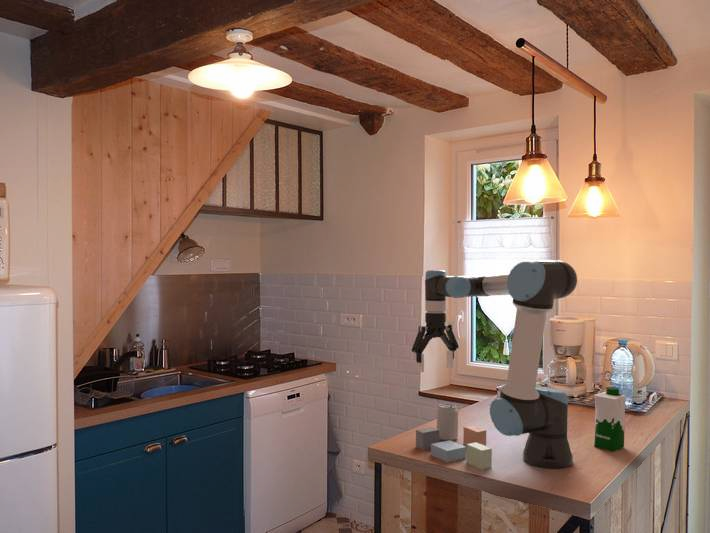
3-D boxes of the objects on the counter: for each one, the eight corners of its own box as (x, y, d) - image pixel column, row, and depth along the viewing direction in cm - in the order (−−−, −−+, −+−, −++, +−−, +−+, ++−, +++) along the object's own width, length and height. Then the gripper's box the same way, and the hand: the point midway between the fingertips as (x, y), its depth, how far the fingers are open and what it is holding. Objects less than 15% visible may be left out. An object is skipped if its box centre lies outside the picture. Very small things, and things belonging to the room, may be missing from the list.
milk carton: (627, 447, 206) (628, 389, 206) (614, 453, 200) (615, 393, 200) (603, 441, 213) (604, 385, 212) (590, 446, 207) (590, 388, 206)
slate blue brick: (466, 459, 195) (466, 446, 194) (446, 463, 190) (446, 450, 190) (449, 452, 201) (450, 440, 201) (431, 456, 197) (431, 444, 197)
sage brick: (491, 467, 186) (491, 448, 186) (481, 469, 184) (482, 450, 184) (475, 460, 192) (476, 442, 192) (466, 463, 190) (466, 444, 190)
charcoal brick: (431, 444, 209) (432, 426, 209) (439, 447, 206) (439, 429, 206) (415, 447, 205) (415, 429, 205) (422, 450, 202) (423, 432, 202)
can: (457, 442, 211) (457, 408, 210) (435, 441, 212) (436, 407, 212) (458, 436, 218) (458, 403, 218) (437, 434, 220) (437, 402, 219)
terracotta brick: (486, 447, 205) (486, 430, 205) (477, 449, 203) (477, 432, 203) (472, 442, 211) (472, 425, 211) (463, 444, 209) (463, 426, 209)
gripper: (454, 309, 231) (454, 365, 231) (401, 312, 218) (402, 371, 218) (468, 311, 225) (468, 368, 225) (414, 314, 212) (414, 374, 212)
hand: (435, 369), depth 221 cm, fingers open, 13 cm apart
